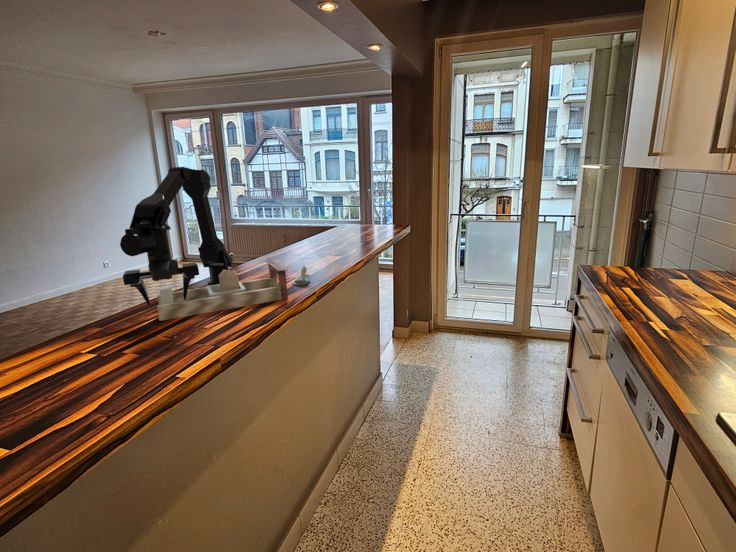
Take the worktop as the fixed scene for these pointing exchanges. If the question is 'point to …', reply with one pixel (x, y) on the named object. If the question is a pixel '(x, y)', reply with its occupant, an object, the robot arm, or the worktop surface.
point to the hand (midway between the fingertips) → (167, 302)
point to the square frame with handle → (211, 291)
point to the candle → (228, 280)
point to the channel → (226, 296)
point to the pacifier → (302, 277)
